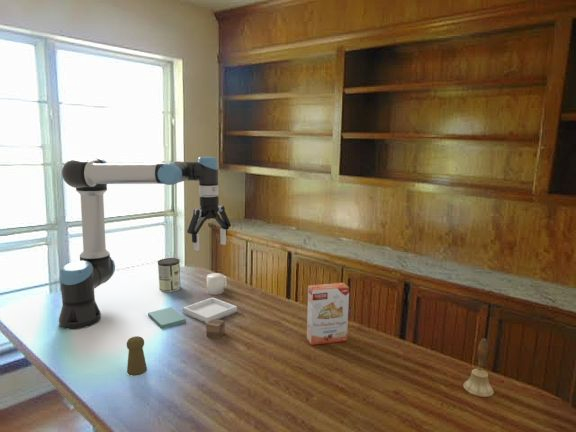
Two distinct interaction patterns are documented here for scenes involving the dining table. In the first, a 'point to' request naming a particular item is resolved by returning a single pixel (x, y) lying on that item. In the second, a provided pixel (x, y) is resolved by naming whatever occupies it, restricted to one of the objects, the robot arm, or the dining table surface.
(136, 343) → the cork
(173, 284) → the coffee can
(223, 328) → the walnut block
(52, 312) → the dining table surface
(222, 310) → the tray
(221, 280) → the mug
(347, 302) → the cracker box
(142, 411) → the dining table surface
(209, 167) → the robot arm
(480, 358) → the hand bell
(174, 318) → the teal notebook
